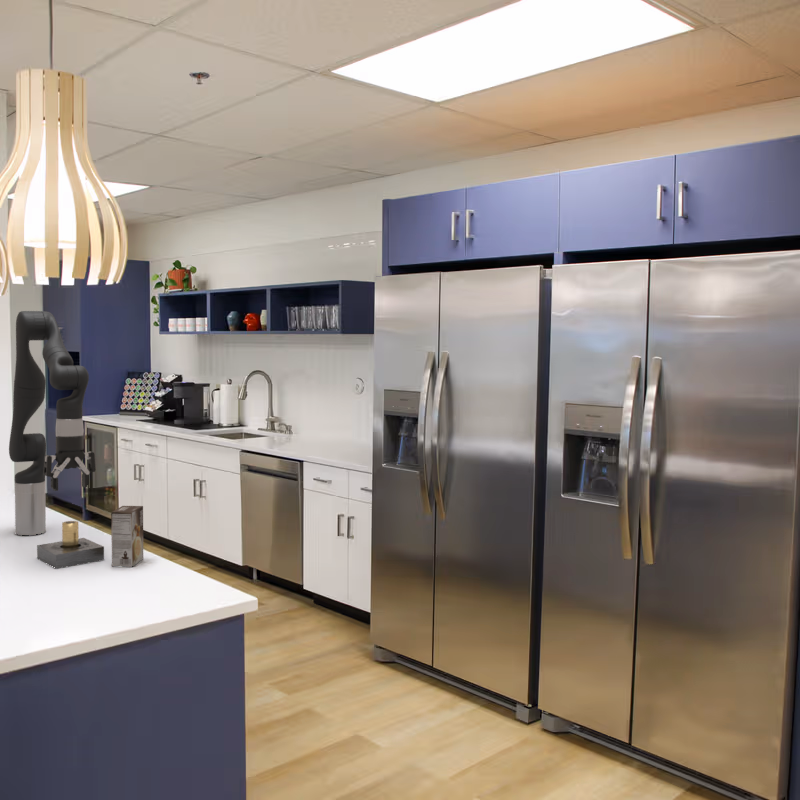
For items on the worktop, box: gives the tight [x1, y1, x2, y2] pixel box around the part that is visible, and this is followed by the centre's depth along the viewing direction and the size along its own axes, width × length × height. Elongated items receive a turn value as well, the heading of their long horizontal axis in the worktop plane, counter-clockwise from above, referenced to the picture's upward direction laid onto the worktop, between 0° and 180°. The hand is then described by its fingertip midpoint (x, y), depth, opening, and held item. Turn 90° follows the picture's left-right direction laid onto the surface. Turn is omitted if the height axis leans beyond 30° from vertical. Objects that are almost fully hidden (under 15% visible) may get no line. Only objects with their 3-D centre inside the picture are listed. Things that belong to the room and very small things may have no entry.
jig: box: [36, 537, 105, 569], centre depth 235 cm, size 14×14×4 cm
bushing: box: [61, 520, 80, 549], centre depth 235 cm, size 4×4×10 cm
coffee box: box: [110, 505, 144, 568], centre depth 233 cm, size 9×6×16 cm
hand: (70, 488), depth 234 cm, fingers open, 8 cm apart
